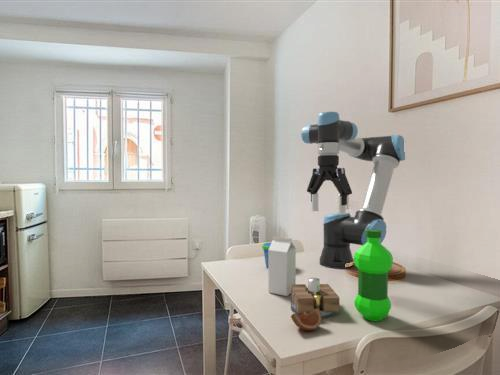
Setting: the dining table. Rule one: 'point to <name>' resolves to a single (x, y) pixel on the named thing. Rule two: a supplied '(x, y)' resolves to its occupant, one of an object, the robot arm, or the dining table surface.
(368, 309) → the plastic bottle
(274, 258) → the milk carton
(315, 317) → the fruit slice
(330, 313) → the post base
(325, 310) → the flange block
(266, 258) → the snack cup
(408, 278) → the dining table surface
